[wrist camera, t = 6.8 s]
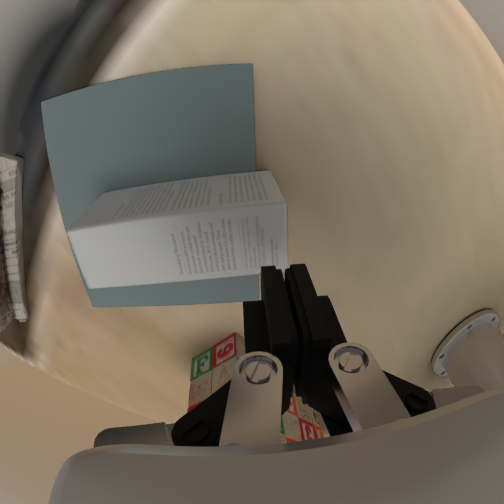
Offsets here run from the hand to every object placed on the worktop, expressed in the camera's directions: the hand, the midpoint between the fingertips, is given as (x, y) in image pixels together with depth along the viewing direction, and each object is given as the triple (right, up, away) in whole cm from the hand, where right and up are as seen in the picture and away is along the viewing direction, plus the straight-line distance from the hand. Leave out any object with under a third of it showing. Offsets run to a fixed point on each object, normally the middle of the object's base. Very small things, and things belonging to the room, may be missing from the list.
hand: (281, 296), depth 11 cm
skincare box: (+1, +4, +6) cm, 7 cm away
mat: (-8, +5, +9) cm, 13 cm away
